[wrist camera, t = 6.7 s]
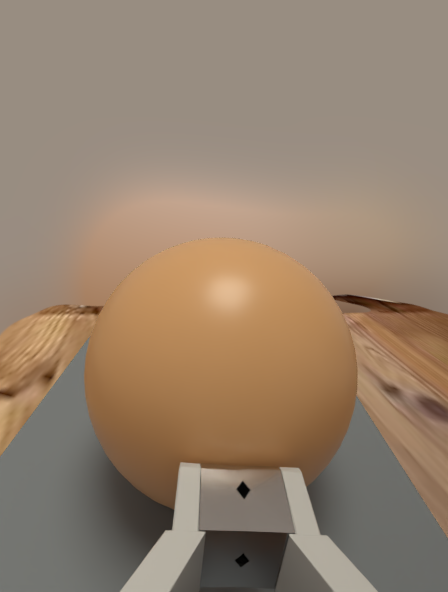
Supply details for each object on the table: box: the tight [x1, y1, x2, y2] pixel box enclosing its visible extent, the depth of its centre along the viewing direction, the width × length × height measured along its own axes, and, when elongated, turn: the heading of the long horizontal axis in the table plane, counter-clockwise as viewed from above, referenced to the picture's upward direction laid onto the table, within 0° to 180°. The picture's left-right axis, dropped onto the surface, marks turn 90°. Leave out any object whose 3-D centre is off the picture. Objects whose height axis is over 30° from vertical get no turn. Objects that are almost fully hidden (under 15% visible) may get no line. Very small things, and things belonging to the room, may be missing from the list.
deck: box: [0, 337, 448, 592], centre depth 19 cm, size 29×18×3 cm, turn 2°
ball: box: [84, 238, 357, 510], centre depth 13 cm, size 10×10×10 cm
